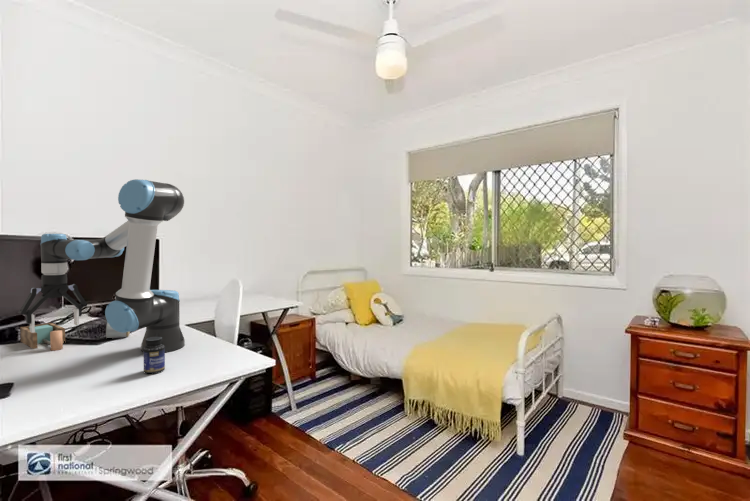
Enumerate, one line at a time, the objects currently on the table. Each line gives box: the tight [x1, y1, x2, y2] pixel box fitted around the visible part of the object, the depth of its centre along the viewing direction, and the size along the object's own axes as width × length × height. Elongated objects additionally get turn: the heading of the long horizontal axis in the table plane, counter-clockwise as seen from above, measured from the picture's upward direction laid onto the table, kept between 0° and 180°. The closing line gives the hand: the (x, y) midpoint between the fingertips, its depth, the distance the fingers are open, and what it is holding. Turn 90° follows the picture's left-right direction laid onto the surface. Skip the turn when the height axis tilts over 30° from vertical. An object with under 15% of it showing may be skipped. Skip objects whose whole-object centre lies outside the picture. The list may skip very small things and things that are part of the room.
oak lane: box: [19, 322, 66, 350], centre depth 155 cm, size 16×10×6 cm, turn 56°
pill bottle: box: [142, 337, 166, 374], centre depth 125 cm, size 6×6×11 cm
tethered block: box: [29, 325, 64, 352], centre depth 152 cm, size 22×6×7 cm, turn 56°
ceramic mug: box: [105, 321, 131, 339], centre depth 165 cm, size 11×8×8 cm
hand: (55, 328), depth 146 cm, fingers open, 13 cm apart
